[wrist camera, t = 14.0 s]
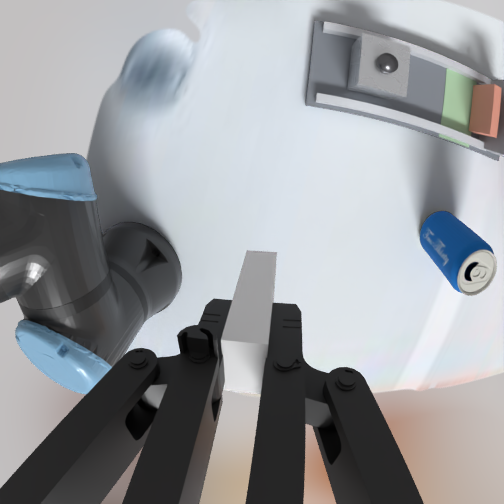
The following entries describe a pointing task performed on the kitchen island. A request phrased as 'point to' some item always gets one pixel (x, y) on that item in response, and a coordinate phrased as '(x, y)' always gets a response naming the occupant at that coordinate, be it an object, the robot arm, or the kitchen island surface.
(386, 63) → the white cube with knob
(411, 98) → the base
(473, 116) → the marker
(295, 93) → the kitchen island surface
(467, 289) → the beverage can
